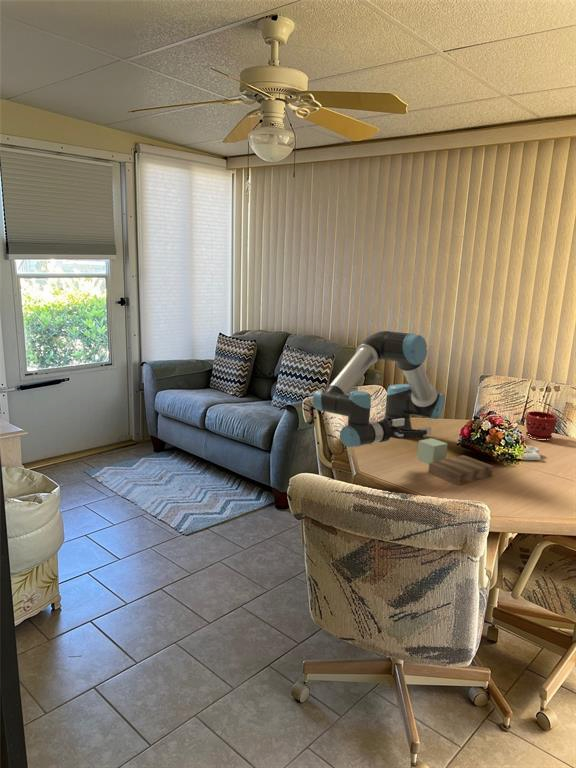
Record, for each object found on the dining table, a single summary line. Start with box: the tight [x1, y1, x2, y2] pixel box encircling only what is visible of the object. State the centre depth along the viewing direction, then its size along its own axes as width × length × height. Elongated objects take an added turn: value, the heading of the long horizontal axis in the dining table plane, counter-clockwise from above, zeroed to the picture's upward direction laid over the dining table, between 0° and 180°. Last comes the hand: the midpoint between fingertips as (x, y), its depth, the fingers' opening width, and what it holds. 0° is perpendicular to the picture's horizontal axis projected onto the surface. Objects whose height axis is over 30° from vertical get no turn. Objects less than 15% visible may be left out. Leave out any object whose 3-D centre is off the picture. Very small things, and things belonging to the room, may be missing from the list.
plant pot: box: [525, 410, 558, 440], centre depth 270 cm, size 13×13×12 cm
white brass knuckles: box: [521, 445, 542, 461], centre depth 243 cm, size 3×18×15 cm
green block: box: [416, 437, 448, 465], centre depth 229 cm, size 8×8×8 cm
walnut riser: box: [428, 454, 494, 486], centre depth 216 cm, size 20×14×4 cm
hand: (416, 426), depth 221 cm, fingers open, 13 cm apart
